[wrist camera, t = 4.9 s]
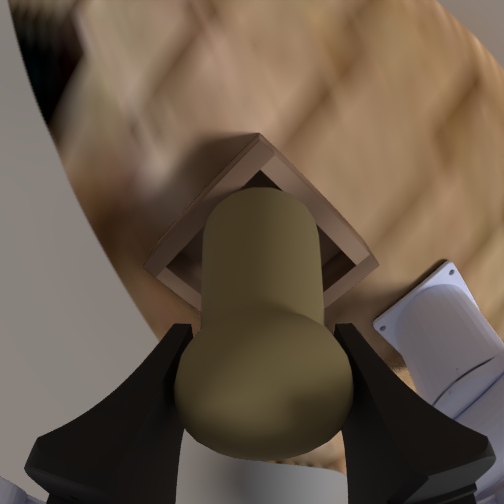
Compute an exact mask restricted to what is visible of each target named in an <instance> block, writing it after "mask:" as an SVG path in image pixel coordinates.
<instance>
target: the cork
mask: <svg viewBox="0 0 504 504" xmlns="http://www.w3.org/2000/svg"><path fill="white" fill-rule="evenodd" d="M173 389H174V400H175V405H176V408H177V412H178V415H179V417H180V419H181V421H182V423H183V425H184V427H185V429H186V431H187V432H188V433H189V434H190V435H191V436H192V437H193V438H194V439H195V440H196V441H197V442H199V443H201V444H203V445H204V446H206V447H208V448H210V449H212V450H214V451H216V452H218V453H220V454H223V455H226V456H230V457H233V458H238V459H246V460H253V461H257V460H258V461H269V460H279V459H286V458H292V457H295V456H298V455H302V454H305V453H308V452H310V451H312V450H314V449H316V448H317V447H319V446H321V445H323V444H325V443H326V442H328V441H330V440H331V439H332V438H333V437H334V436H335V435H336V434H337V433H338V432H339V431H340V430H341V429H342V427H343V424H344V422H345V420H346V418H347V416H348V414H349V411H350V409H351V406H352V404H353V396H354V383H353V377H352V371H351V367H350V364H349V360H348V357H347V354H346V353H345V352H344V350H343V349H342V347H341V346H340V344H339V343H338V341H337V340H336V339H335V338H334V336H333V335H332V334H331V333H330V331H329V330H328V329H327V328H326V327H325V320H324V301H323V284H322V270H321V256H320V244H319V234H318V230H317V226H316V222H315V219H314V217H313V216H312V214H311V213H310V211H309V210H308V208H307V207H306V206H305V204H303V203H302V202H301V201H299V200H298V199H297V198H295V197H294V196H293V195H291V194H290V193H287V192H284V191H280V190H277V189H274V188H261V187H252V188H248V189H245V190H242V191H238V192H235V193H233V194H231V195H230V196H228V197H227V198H225V199H224V200H223V201H221V202H220V203H218V204H217V206H216V207H215V208H214V210H213V211H212V213H211V214H210V215H209V217H208V218H207V222H206V225H205V229H204V232H203V246H202V283H201V330H200V331H199V332H198V333H197V335H196V336H195V337H194V338H193V339H192V340H191V341H190V343H189V344H188V346H187V347H186V349H185V351H184V352H183V354H182V355H181V359H180V363H179V367H178V371H177V375H176V379H175V383H174V387H173Z"/></svg>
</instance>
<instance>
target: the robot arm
mask: <svg viewBox="0 0 504 504" xmlns="http://www.w3.org/2000/svg"><path fill="white" fill-rule="evenodd" d="M450 270H452V271H451V272H450ZM449 272H450V273H449ZM382 326H384V327H382ZM373 327H374V328H375V330H376V331H378V332H379V333H380V334H381V335H382V336H383V337H384V338H385V339H386V340H387V341H388V342H389V343H390V344H391V345H392V346H393V347H394V348H395V349H396V350H397V351H398V352H399V353H400V354H401V355H402V357H403V359H404V361H405V364H406V366H407V368H408V371H409V373H410V376H411V378H412V380H413V383H414V385H415V388H416V390H417V393H418V394H416V393H415V392H414V391H413V390H412V389H410V388H409V387H408V386H407V385H406V384H405V383H404V382H403V381H402V380H401V379H400V378H399V377H398V376H397V375H396V374H395V373H394V372H393V371H392V370H391V369H390V368H389V367H388V366H387V365H386V364H385V362H384V361H383V360H382V359H381V358H380V357H379V356H378V355H377V353H376V352H375V351H374V350H373V349H372V347H371V346H370V345H369V344H368V343H367V341H366V340H365V339H364V338H363V336H362V335H361V334H360V333H359V331H358V330H357V329H356V327H355V326H354V325H353V324H352V323H348V324H336V325H335V331H334V338H335V339H336V340H337V341H338V343H339V344H340V346H341V347H342V349H343V350H344V352H345V353H346V354H347V357H348V360H349V364H350V367H351V371H352V377H353V383H354V396H353V404H352V406H351V409H350V411H349V414H348V416H347V418H346V420H345V422H344V424H343V427H342V429H341V431H342V435H343V441H344V448H345V457H346V468H347V482H348V504H504V343H503V342H502V340H501V339H500V338H499V336H498V335H497V333H496V332H495V331H494V329H493V328H492V327H491V325H490V324H489V323H488V321H487V320H486V319H485V317H484V316H483V315H482V313H481V312H480V310H479V308H478V306H477V304H476V302H475V301H474V299H473V297H472V295H471V293H470V291H469V289H468V288H467V286H466V284H465V282H464V281H463V279H462V277H461V275H460V274H459V272H458V270H457V268H456V267H455V265H454V264H453V262H452V261H446V262H445V263H443V264H442V265H441V266H440V267H439V268H438V269H437V270H436V271H434V272H433V273H432V274H431V275H430V276H429V277H427V278H426V279H425V280H424V281H423V282H422V283H420V284H419V285H418V286H417V287H416V288H414V289H413V290H412V291H411V292H410V293H408V294H407V295H406V296H405V297H403V298H402V299H401V300H400V301H398V302H397V303H396V304H395V305H393V306H392V307H391V308H390V309H388V310H387V311H386V312H384V313H383V314H382V315H380V316H379V317H378V318H377V319H375V320H374V322H373ZM381 327H382V328H381ZM192 339H193V333H192V327H191V324H177V323H175V324H174V325H173V326H172V327H171V328H170V329H169V331H168V332H167V333H166V335H165V336H164V337H163V338H162V340H161V341H160V342H159V343H158V345H157V346H156V347H155V348H154V350H153V351H152V352H151V353H150V354H149V355H148V357H147V358H146V359H145V360H144V361H143V363H142V364H141V365H140V366H139V367H138V368H137V369H136V370H135V371H134V372H133V373H132V374H131V375H130V376H129V377H128V378H127V379H126V380H125V381H124V382H123V383H122V384H121V385H120V386H119V387H118V388H117V389H115V391H113V392H112V393H111V394H110V395H108V396H107V397H106V398H105V399H103V400H102V401H101V402H100V403H98V404H97V405H95V406H94V407H93V408H91V409H90V410H89V411H87V412H86V413H84V414H82V415H81V416H79V417H77V418H76V419H74V420H73V421H71V422H69V423H67V424H65V425H64V426H62V427H60V428H58V429H55V430H53V431H51V432H49V433H47V434H45V435H43V436H40V437H38V438H37V440H36V442H35V444H34V446H33V448H32V450H31V452H30V455H29V457H28V460H27V462H26V464H25V467H24V469H25V471H26V473H27V474H28V476H29V477H30V478H31V479H32V480H34V481H35V482H36V483H37V484H38V485H40V486H41V487H42V488H43V489H44V490H46V491H47V492H48V493H49V497H48V500H47V503H46V502H43V501H41V500H39V499H36V498H34V497H32V496H30V495H28V494H27V493H26V492H25V491H24V490H22V489H21V488H19V487H18V486H17V485H15V484H13V483H12V482H10V481H8V480H6V479H4V478H2V477H0V504H175V502H176V486H177V474H178V465H179V455H180V448H181V442H182V436H183V432H184V428H185V427H184V425H183V423H182V421H181V419H180V417H179V415H178V412H177V408H176V405H175V400H174V389H173V387H174V383H175V379H176V375H177V371H178V367H179V363H180V359H181V355H182V354H183V352H184V351H185V349H186V347H187V346H188V344H189V343H190V341H191V340H192Z"/></svg>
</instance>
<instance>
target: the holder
mask: <svg viewBox="0 0 504 504" xmlns="http://www.w3.org/2000/svg"><path fill="white" fill-rule="evenodd" d="M252 187H261V188H274V189H277V190H280V191H284V192H287V193H290V194H291V195H293V196H294V197H295V198H297V199H298V200H299V201H301V202H302V203H303V204H305V206H306V207H307V208H308V210H309V211H310V213H311V214H312V216H313V217H314V219H315V222H316V226H317V230H318V234H319V244H320V256H321V270H322V284H323V301H324V309H325V308H327V307H328V306H329V305H331V304H332V303H333V302H334V301H336V300H337V299H338V298H339V297H341V296H342V295H343V294H345V293H346V292H347V291H348V290H350V289H351V288H352V287H353V286H355V285H356V284H357V283H358V282H360V281H361V280H362V279H363V278H364V277H366V276H367V275H368V274H369V273H371V272H372V271H373V270H374V269H375V268H377V267H378V266H379V263H378V262H377V260H376V259H375V257H374V255H373V254H372V252H371V251H370V249H369V247H368V246H367V244H366V243H365V241H364V240H363V238H362V237H361V236H360V235H359V234H358V233H357V232H356V231H355V229H354V228H353V227H352V226H351V225H350V224H349V223H348V222H347V221H346V219H345V218H344V217H343V216H342V215H341V214H340V213H339V212H338V211H337V210H336V209H335V208H334V207H333V205H332V204H331V203H330V202H329V201H328V200H327V199H326V198H325V197H324V196H323V195H322V194H321V193H320V192H319V191H318V190H317V189H316V188H315V187H314V186H313V185H312V184H311V183H310V181H309V180H308V179H307V178H306V177H305V176H304V175H303V174H302V173H301V172H300V171H299V170H298V169H297V168H296V167H295V166H294V165H293V164H292V163H291V162H290V161H289V160H288V159H287V158H286V157H284V156H283V155H282V154H281V153H280V152H279V151H278V150H277V149H276V148H275V147H274V146H273V145H272V144H271V143H270V142H269V141H268V140H267V139H266V138H265V137H264V136H263V135H262V134H260V133H259V134H258V135H257V136H256V137H255V138H254V139H253V140H252V141H251V142H250V143H249V144H248V145H247V146H246V147H245V148H244V149H243V150H242V151H241V152H240V153H239V154H238V155H237V156H236V157H235V158H234V159H233V160H232V161H231V162H230V163H229V164H228V165H227V166H226V167H225V168H224V169H223V170H222V171H221V172H220V173H219V175H218V176H217V177H216V178H215V179H214V180H213V181H212V182H211V183H210V184H209V185H208V186H207V187H206V188H205V189H204V190H203V192H202V193H201V194H200V195H199V196H198V197H197V198H196V199H195V200H194V201H193V202H192V204H191V205H190V206H189V207H188V208H187V209H186V210H185V211H184V212H183V213H182V215H181V216H180V217H179V218H178V219H177V220H176V221H175V222H174V224H173V225H172V226H171V227H170V228H169V229H168V230H167V232H166V233H165V234H164V235H163V236H162V237H161V238H160V240H159V241H158V242H157V244H156V246H155V247H154V249H153V250H152V252H151V254H150V255H149V257H148V259H147V260H146V262H145V264H144V265H143V268H144V269H146V270H147V271H148V272H149V273H151V274H152V275H153V276H154V277H156V278H157V279H158V280H159V281H161V282H162V283H163V284H165V285H166V286H167V287H168V288H170V289H171V290H172V291H174V292H175V293H176V294H178V295H179V296H180V297H181V298H183V299H184V300H185V301H187V302H188V303H189V304H191V305H192V306H193V307H195V308H196V309H197V310H199V311H200V312H201V283H202V246H203V232H204V229H205V225H206V222H207V218H208V217H209V215H210V214H211V213H212V211H213V210H214V208H215V207H216V206H217V204H218V203H220V202H221V201H223V200H224V199H225V198H227V197H228V196H230V195H231V194H233V193H235V192H238V191H242V190H245V189H248V188H252Z"/></svg>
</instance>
